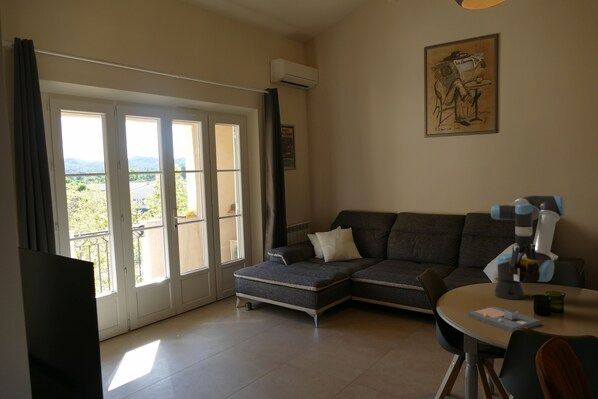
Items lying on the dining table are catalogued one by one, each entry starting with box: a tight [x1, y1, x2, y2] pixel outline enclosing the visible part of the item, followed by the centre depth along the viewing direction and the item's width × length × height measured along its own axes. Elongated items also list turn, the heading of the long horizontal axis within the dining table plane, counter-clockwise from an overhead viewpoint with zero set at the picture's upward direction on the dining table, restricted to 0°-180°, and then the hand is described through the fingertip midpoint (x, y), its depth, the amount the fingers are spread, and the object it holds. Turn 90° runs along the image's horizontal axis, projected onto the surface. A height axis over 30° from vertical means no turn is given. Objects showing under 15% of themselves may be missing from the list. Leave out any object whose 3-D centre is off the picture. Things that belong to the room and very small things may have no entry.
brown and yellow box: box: [509, 257, 540, 284], centre depth 210 cm, size 10×10×10 cm
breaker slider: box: [504, 308, 519, 320], centre depth 194 cm, size 4×4×4 cm
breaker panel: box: [468, 306, 541, 333], centre depth 198 cm, size 24×18×3 cm
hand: (524, 279), depth 211 cm, fingers closed on brown and yellow box, 10 cm apart
